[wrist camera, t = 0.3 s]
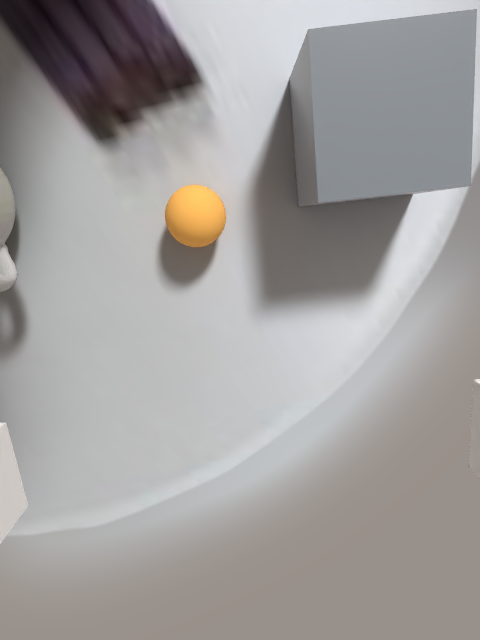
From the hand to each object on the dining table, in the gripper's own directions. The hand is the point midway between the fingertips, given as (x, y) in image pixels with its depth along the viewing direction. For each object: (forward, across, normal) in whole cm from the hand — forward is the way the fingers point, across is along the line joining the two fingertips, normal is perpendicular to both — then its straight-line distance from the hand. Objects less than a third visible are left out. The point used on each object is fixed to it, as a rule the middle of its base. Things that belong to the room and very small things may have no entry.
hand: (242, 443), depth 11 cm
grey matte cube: (+26, +11, +12) cm, 31 cm away
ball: (+24, -3, +7) cm, 25 cm away
